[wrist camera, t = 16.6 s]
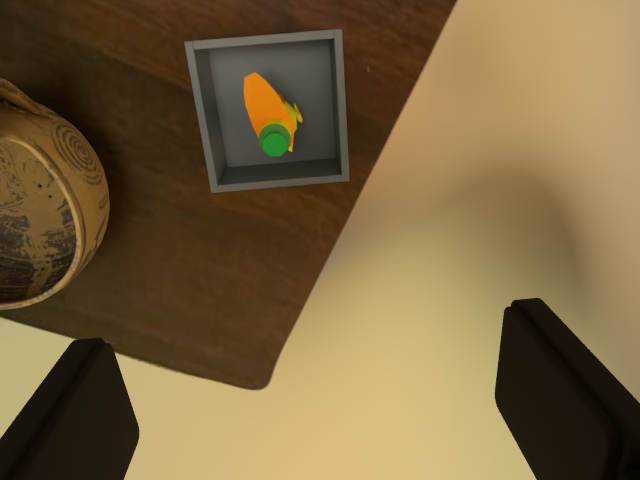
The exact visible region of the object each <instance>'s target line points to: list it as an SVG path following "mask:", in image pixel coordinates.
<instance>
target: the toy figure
mask: <svg viewBox="0 0 640 480" xmlns="http://www.w3.org/2000/svg"><path fill="white" fill-rule="evenodd" d="M244 97H245V105H246V108H247V111H248V114H249V117H250V120H251V123H252V126H253V128H254V130H255V132H256V134H257V136H258V138H259V139H258V140H259V145H260V147H261V149H262V150H263V151H264V152H265V153H267V154H269V155H270V156H271V157H273V156H281V155H282V154H283V153H285V152H286V151H287V150H289V151H291V152H292V148H293V138H294V132H295V131H296V129H297V119H298V121H299V122H303V118H302V116H301V114H300V112H299V110H298V107H297V106H296V104H295V103H294V108H293V107H292V106H291V105H290V104H289V103H288V102H287V101H286V99H285V98H284V97H283V96H282V94H281V93H280V94H277V93H276V91H275V90H274V89H273V88H272V87H271V86H270V85H269V83H268V82H267V81H266V80H264V79H263V78H262V77H261V76H260V75H258V74H257V73H256V72H255V73H252V74H250V75H248V76H246V77H244ZM296 117H297V118H296Z"/></svg>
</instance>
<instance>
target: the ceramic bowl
mask: <svg viewBox="0 0 640 480" xmlns="http://www.w3.org/2000/svg"><path fill="white" fill-rule="evenodd" d="M39 185H41V186H42V187H40V186H39ZM50 195H51V196H52V197H49V196H50ZM109 211H110V203H109V192H108V184H107V180H106V177H105V173H104V169H103V167H102V165H101V163H100V161H99V159H98V157H97V155H96V153H95V151H94V150H93V148H92V147H91V145H90V144H89V143H88V141H87V140H86V139H85V137H84V136H83V135H82V134H81V132H80V131H78V130H77V129H76V128H75V127H74V126H73V125H72V124H71V123H69V122H68V121H66V120H65V119H64V118H62V117H61V116H60V115H58V114H57V113H55V112H54V111H52V110H50V109H49V108H47V107H45V106H44V105H41V104H39V103H36V102H34V101H33V100H32V99H31V98H29V97H28V96H27V95H26V94H24V93H23V92H22V91H21V90H19V89H18V88H17V87H16V86H14V85H13V84H12V83H11V82H9V81H7V80H5V79H3V78H0V310H8V309H15V308H20V307H25V306H28V305H31V304H34V303H36V302H39V301H42V300H44V299H46V298H47V297H49V296H51V295H52V294H54V293H56V292H57V291H59V290H60V289H62V288H63V287H64V286H66V285H67V284H68V283H69V282H70V281H71V280H73V279H74V278H75V277H76V276H77V275H78V274H79V273H80V272H81V271H82V270H83V269H84V267H85V266H86V265H87V263H88V262H89V261H90V260H91V258H92V257H93V256H94V254H95V252H96V250H97V249H98V247H99V245H100V243H101V242H102V239H103V236H104V233H105V230H106V227H107V223H108V217H109Z"/></svg>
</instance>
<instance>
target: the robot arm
mask: <svg viewBox="0 0 640 480" xmlns="http://www.w3.org/2000/svg"><path fill="white" fill-rule="evenodd" d="M495 400H496V404H497V407H498V409H499V411H500V413H501V415H502V417H503V419H504V420H505V422H506V424H507V426H508V428H509V430H510V431H511V433H512V435H513V437H514V439H515V440H516V442H517V444H518V446H519V448H520V450H521V451H522V453H523V455H524V457H525V459H526V461H527V462H528V464H529V466H530V468H531V470H532V472H533V473H534V475H535V477H536V479H537V480H640V403H639V402H638V401H637V400H636V399H635V398H634V397H633V396H632V395H631V394H630V393H629V391H628V390H627V389H626V388H625V387H624V386H623V385H622V384H621V383H620V382H619V381H618V380H617V379H616V378H615V377H614V376H613V374H611V372H610V371H609V370H608V369H607V368H606V367H605V366H604V365H603V364H602V363H601V362H600V361H599V360H598V359H597V358H596V357H595V356H594V354H593V353H592V352H590V350H589V349H588V348H587V347H586V346H585V345H584V344H583V343H582V342H581V341H580V340H579V339H578V338H577V336H576V335H575V334H574V333H573V332H572V331H571V330H570V329H569V328H568V327H567V326H566V325H565V324H564V323H563V322H562V321H561V319H559V317H558V316H557V315H556V314H555V313H554V312H553V311H552V310H551V309H550V308H549V307H548V306H547V305H546V304H545V303H544V301H542V300H541V299H540V298H533V299H521V300H514V301H513V302H512V304H511V307H506V308H505V310H504V318H503V326H502V334H501V343H500V352H499V361H498V369H497V378H496V388H495ZM138 440H139V426H138V423H137V420H136V417H135V414H134V411H133V408H132V405H131V402H130V399H129V396H128V393H127V389H126V386H125V384H124V381H123V378H122V374H121V371H120V368H119V365H118V362H117V359H116V356H115V353H114V350H113V347H112V345H111V344H109V343H105V342H104V340H103V339H102V338H91V339H80V340H74V341H73V342H72V343H71V344H70V345H69V347H68V348H67V349H66V351H65V352H64V353H63V354H62V356H61V357H60V359H59V360H58V361H57V363H56V364H55V365H54V367H53V368H52V369H51V371H50V372H49V373H48V375H47V376H46V378H45V379H44V380H43V382H42V383H41V384H40V386H39V387H38V388H37V390H36V391H35V392H34V394H33V395H32V397H31V398H30V399H29V401H28V402H27V403H26V405H25V406H24V407H23V409H22V410H21V411H20V413H19V414H18V415H17V417H16V418H15V420H14V421H13V422H12V424H11V425H10V426H9V428H8V429H7V430H6V432H5V433H4V435H3V436H2V437H1V439H0V480H124V477H125V474H126V472H127V469H128V467H129V464H130V462H131V459H132V456H133V454H134V451H135V449H136V446H137V444H138Z"/></svg>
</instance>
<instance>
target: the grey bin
mask: <svg viewBox="0 0 640 480" xmlns="http://www.w3.org/2000/svg"><path fill="white" fill-rule="evenodd" d="M184 46H185V51H186V57H187V62H188V68H189V73H190V79H191V84H192V89H193V95H194V100H195V106H196V111H197V117H198V122H199V128H200V133H201V139H202V144H203V150H204V155H205V160H206V166H207V171H208V177H209V182H210V188H211V192H212V193H214V192H227V191H239V190H250V189H262V188H273V187H285V186H297V185H308V184H320V183H331V182H342V181H349V161H348V140H347V120H346V99H345V79H344V58H343V37H342V29H331V30H318V31H306V32H294V33H281V34H269V35H257V36H244V37H232V38H220V39H207V40H195V41H185V42H184ZM255 72H256V73H257V74H258V75H260V76H261V77H262V78H263V79H264V80H266V81H267V82H268V83H269V85H270V86H271V87H272V88H273V89H274V90H275V91H276V93H277V94H280V93H281V94H282V96H283V97H284V98H285V99H286V101H287V102H288V103H289V104H290V105H291V106H292V107H293V108H294V103H295V104H296V106H297V107H298V110H299V112H300V114H301V116H302V118H303V122H299V121H298V119H297V129H296V131H295V132H294V138H293V148H292V152H291V151H289V150H287V151H286V152H285V153H283V154H282V155H281V156H273V157H271V156H270V155H269V154H267V153H265V152H264V151H263V150H262V149H261V147H260V145H259V140H258V139H259V138H258V136H257V134H256V132H255V130H254V128H253V126H252V123H251V120H250V117H249V114H248V111H247V108H246V105H245V97H244V77H246V76H248V75H250V74H252V73H255ZM296 118H297V117H296Z"/></svg>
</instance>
